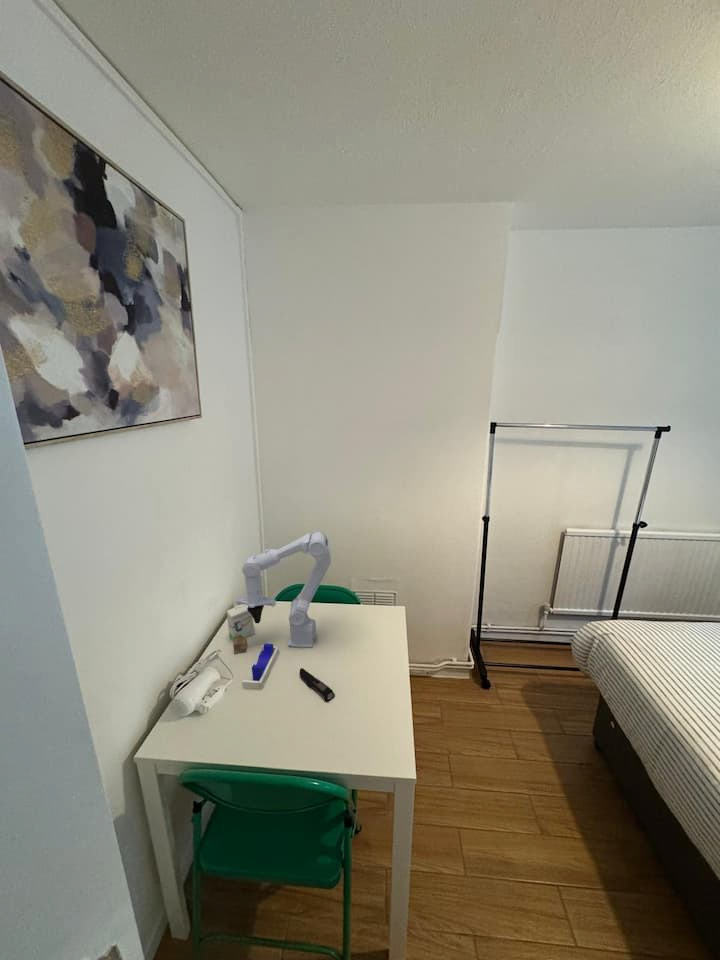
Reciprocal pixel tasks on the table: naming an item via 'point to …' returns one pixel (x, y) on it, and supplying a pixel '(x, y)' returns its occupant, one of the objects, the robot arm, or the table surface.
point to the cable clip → (262, 662)
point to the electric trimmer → (317, 685)
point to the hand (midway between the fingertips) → (257, 621)
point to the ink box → (240, 622)
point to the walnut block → (240, 645)
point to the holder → (260, 683)
